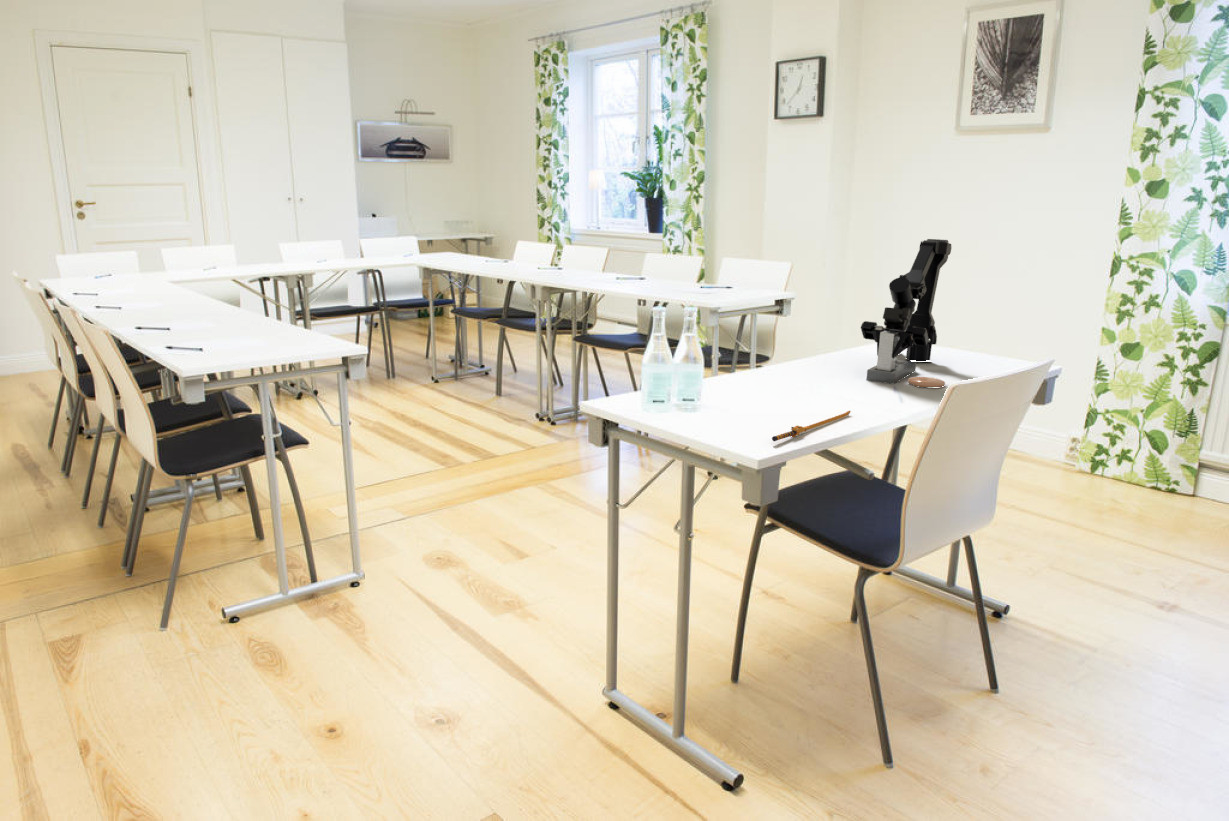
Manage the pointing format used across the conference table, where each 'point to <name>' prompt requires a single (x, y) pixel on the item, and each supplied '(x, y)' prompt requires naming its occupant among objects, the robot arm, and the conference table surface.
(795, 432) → the katana
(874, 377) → the rack rail
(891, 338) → the steel peg
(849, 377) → the conference table surface
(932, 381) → the terracotta coaster
